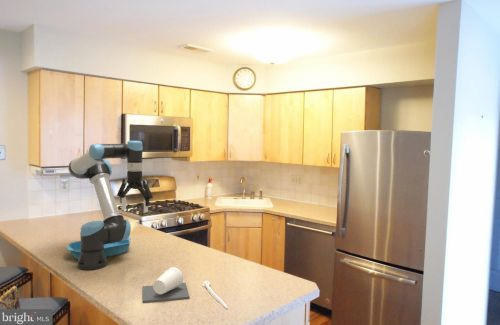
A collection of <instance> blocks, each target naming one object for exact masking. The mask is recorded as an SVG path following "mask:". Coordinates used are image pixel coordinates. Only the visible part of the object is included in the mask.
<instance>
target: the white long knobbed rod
mask: <svg viewBox="0 0 500 325" xmlns="http://www.w3.org/2000/svg"><path fill="white" fill-rule="evenodd" d="M211 284H212V283H211V282H210V280H204V281H203V283H202V285H201V287H202V288H205V289H206V290H207V291H208V293H209V294H210V295H211V297H212V298H214V299H215V300H216V301H217V302H218V303H219V304H220V305H221V306H222V307H223V308H225V310H228V308H229V307H228V305H227V304H226V303H225V301H224V300H223V299H222V298H221V297H220V296H219V295H218V294H216V293H215V292H214V290H213V289H212V288H211Z"/></svg>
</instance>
